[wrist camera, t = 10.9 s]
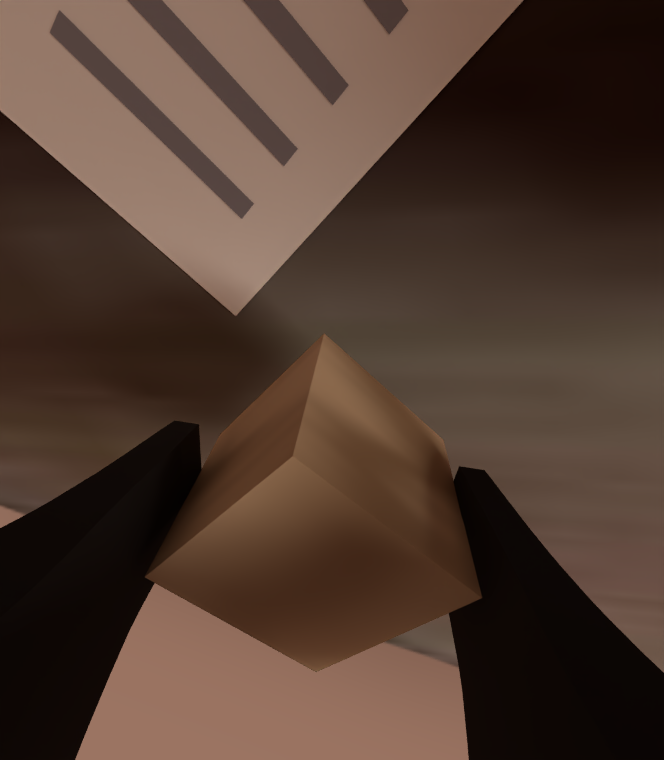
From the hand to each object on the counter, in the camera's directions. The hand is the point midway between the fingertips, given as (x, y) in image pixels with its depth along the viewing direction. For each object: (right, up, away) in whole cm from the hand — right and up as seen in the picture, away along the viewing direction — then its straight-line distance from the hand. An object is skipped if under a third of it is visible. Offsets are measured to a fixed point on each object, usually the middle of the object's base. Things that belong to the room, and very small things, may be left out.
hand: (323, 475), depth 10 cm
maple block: (0, +1, +1) cm, 2 cm away
